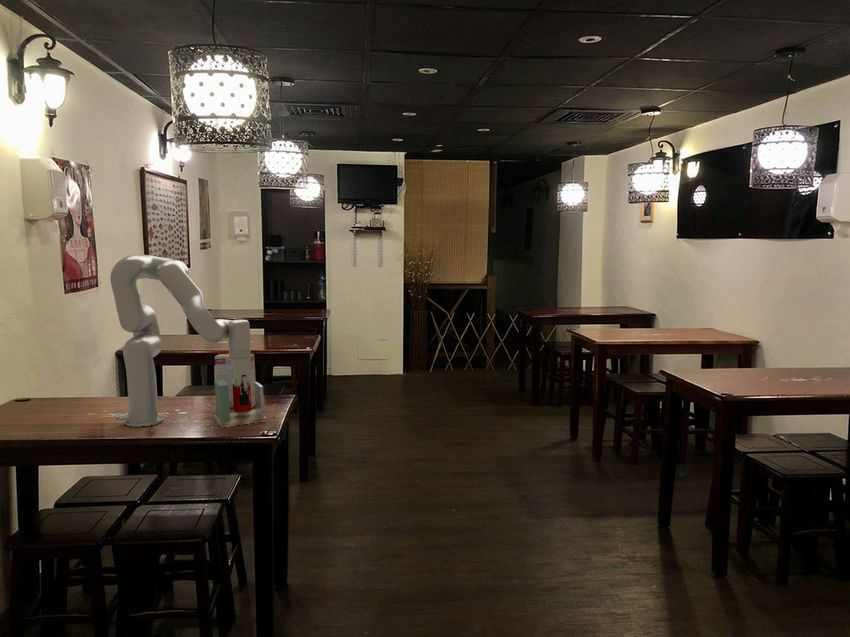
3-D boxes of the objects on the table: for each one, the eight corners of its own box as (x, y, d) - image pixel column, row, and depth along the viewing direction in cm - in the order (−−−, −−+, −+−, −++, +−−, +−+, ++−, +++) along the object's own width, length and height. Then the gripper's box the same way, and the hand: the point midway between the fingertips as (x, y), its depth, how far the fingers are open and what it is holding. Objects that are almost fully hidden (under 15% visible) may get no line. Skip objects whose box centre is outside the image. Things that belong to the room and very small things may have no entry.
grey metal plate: (261, 416, 235) (260, 386, 234) (255, 411, 243) (254, 382, 242) (264, 416, 236) (262, 386, 234) (258, 410, 244) (257, 381, 242)
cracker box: (257, 405, 258) (255, 353, 255) (251, 409, 252) (249, 356, 249) (223, 404, 259) (220, 353, 257) (216, 408, 253) (214, 355, 251)
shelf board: (221, 428, 227) (221, 424, 226) (214, 418, 239) (213, 414, 239) (267, 421, 234) (267, 417, 234) (257, 412, 246) (257, 409, 246)
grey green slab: (221, 422, 228) (219, 386, 227) (216, 415, 237) (214, 380, 236) (230, 421, 230) (228, 385, 228) (224, 414, 239) (223, 379, 237)
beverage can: (253, 410, 240) (252, 378, 238) (248, 414, 233) (247, 381, 232) (236, 410, 240) (235, 378, 238) (231, 414, 234) (229, 381, 232)
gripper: (224, 351, 240) (226, 399, 242) (234, 358, 225) (236, 409, 227) (245, 349, 243) (247, 397, 245) (256, 356, 228) (258, 407, 230)
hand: (242, 402), depth 236 cm, fingers closed on beverage can, 6 cm apart
